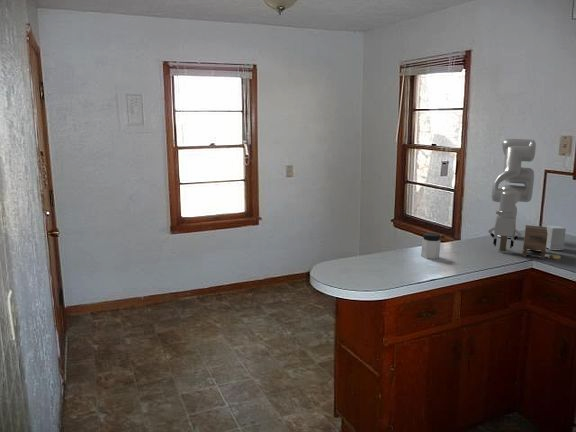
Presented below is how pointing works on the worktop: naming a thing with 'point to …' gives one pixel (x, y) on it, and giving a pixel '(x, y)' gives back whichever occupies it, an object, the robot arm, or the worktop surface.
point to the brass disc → (555, 256)
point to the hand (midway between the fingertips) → (503, 246)
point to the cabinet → (535, 239)
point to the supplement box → (555, 237)
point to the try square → (504, 250)
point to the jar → (431, 245)
